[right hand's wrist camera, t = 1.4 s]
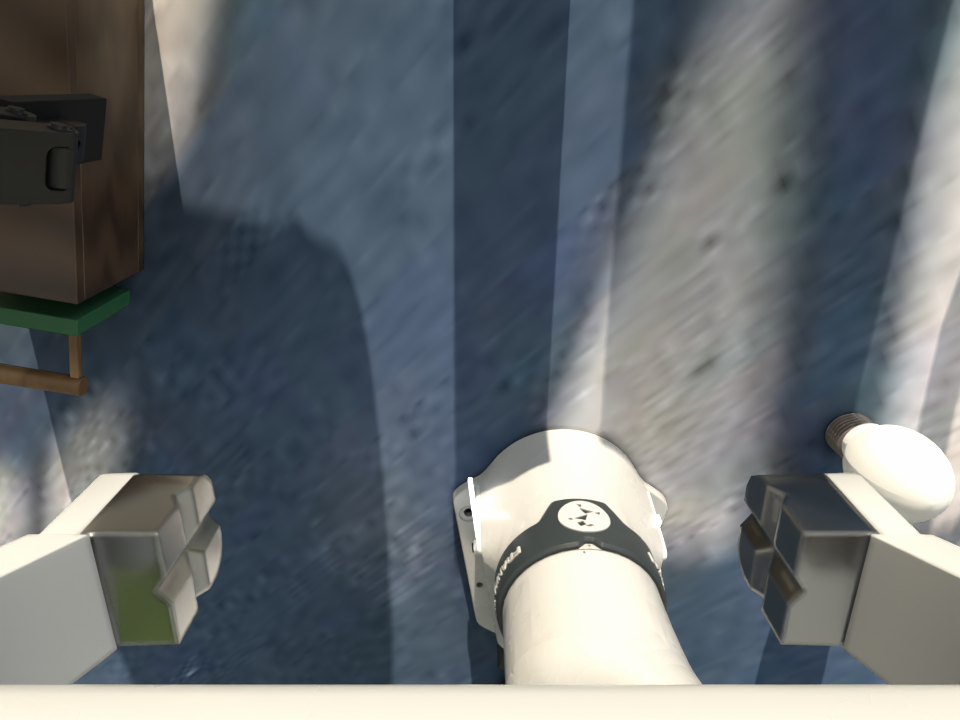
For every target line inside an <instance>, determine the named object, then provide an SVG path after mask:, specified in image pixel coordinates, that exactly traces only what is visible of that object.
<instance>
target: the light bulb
mask: <svg viewBox="0 0 960 720" xmlns="http://www.w3.org/2000/svg"><path fill="white" fill-rule="evenodd" d="M826 441H827V443H828V445H829V446H830V447H831V448H832V449H833V450H834V451H835V452H836V453H837V454H838V455H839V456H840V457H841V458H842V459H843V464H842V465H843V472H844V473H855V474H858V475H861V476H862V477H863V478H864V479H865V480H866V481H867V482H868V483H869V484H870V485H871V486H872V487H873V488H874V489H875V490H876V491H877V492H878V493H879V494H880V495H881V496H882V497H883V498H884V499H885V500H886V501H887V502H888V503H889V504H890V505H891V506H892V507H893V508H894V509H895V510H896V511H897V512H898V513H899V514H900V515H901V516H902V517H904V518H905V519H906V520H907V521H908V522H909V523H918V522H923V521H927V520H930V519H932V518H935V517H937V516H938V515H940V514H941V513H942V512H943V511H945V509H946V508H947V507H948V506H949V504H950V502H951V501H952V499H953V496H954V493H955V476H954V472H953V470H952V467H951V464H950V462H949V460H948V459H947V457H946V456H945V454H944V453H943V452H942V450H941V449H940V448H939V447H938V446H937V445H936V444H935V443H933V442H932V441H931V440H930V439H928V438H927V437H925V436H924V435H922V434H920V433H918V432H916V431H914V430H911V429H908V428H906V427H901V426H896V425H877V424H875V423H873V422H872V421H871V420H870V419H869V418H868V417H866V416H864V415H861V414H855V413H851V414H845V415H842V416H840V417H838V418H836V419H835V420H834V421H833V422H832V423H831V424H830V425H829V426H828V428H827V430H826Z"/></svg>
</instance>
